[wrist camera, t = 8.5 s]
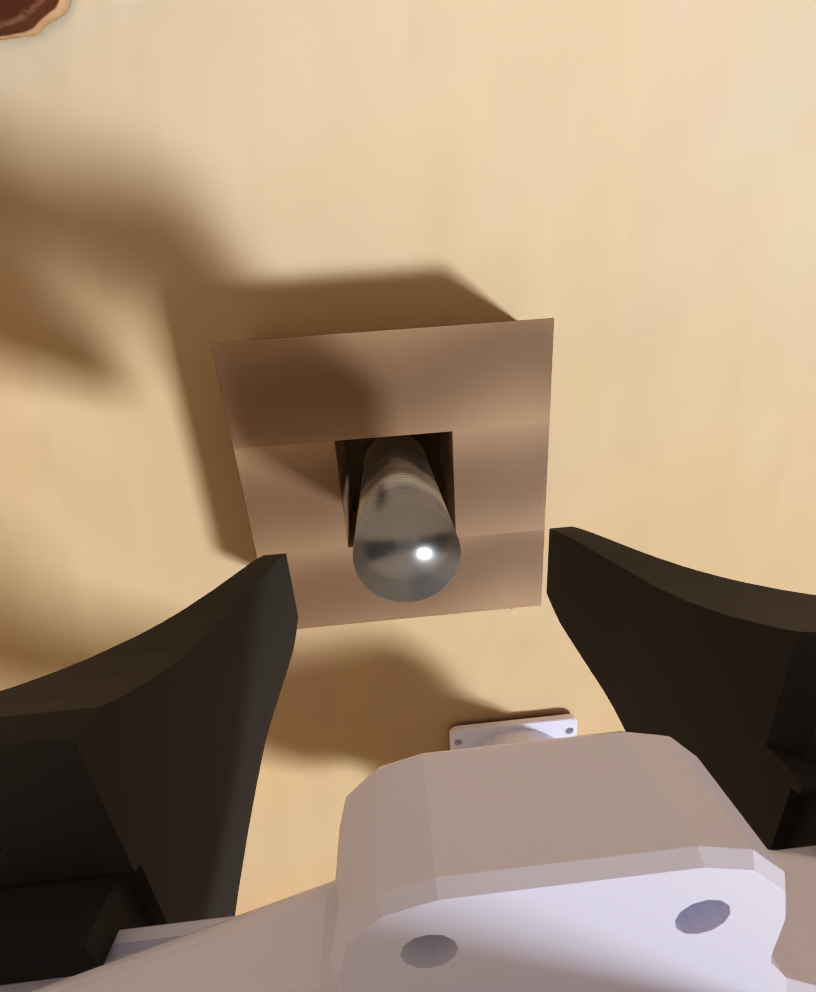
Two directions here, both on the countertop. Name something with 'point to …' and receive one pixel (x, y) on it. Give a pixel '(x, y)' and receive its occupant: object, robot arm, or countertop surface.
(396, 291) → the countertop surface
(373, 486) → the steel pin
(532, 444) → the wooden square frame
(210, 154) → the countertop surface
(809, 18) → the countertop surface
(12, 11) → the coffee cup
